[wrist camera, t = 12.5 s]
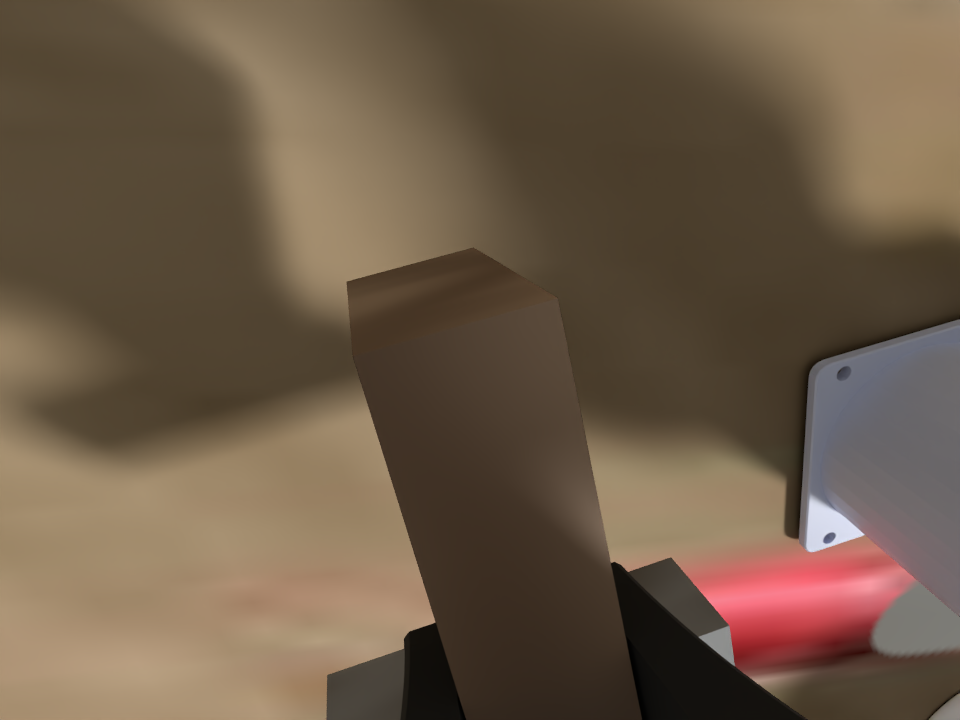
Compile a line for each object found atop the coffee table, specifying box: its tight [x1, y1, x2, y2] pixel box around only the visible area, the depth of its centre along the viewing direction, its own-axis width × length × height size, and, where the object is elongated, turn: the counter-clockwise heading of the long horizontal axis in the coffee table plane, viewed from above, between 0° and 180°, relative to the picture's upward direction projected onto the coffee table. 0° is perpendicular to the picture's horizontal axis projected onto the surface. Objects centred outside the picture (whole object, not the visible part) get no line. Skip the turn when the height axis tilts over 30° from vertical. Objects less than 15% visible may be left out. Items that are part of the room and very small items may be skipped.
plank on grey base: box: [327, 248, 735, 720], centre depth 11 cm, size 8×9×5 cm
